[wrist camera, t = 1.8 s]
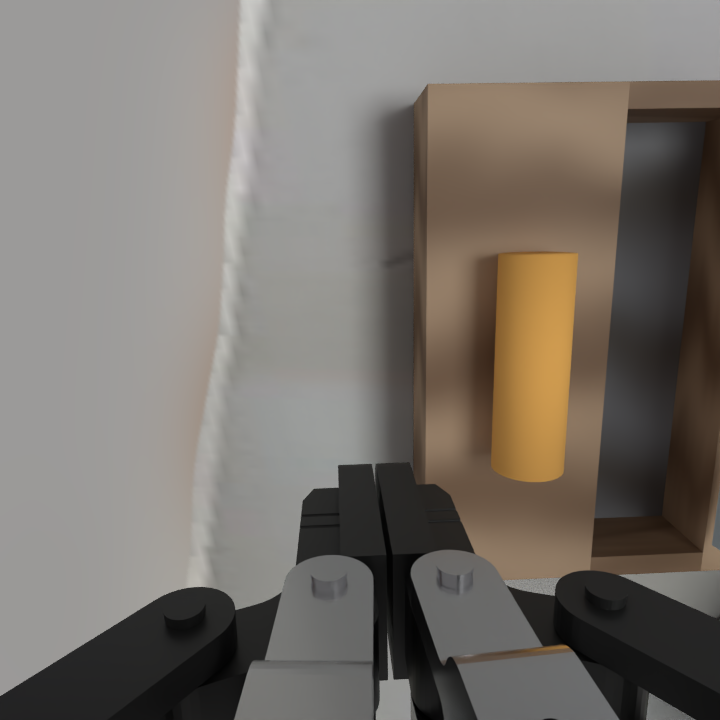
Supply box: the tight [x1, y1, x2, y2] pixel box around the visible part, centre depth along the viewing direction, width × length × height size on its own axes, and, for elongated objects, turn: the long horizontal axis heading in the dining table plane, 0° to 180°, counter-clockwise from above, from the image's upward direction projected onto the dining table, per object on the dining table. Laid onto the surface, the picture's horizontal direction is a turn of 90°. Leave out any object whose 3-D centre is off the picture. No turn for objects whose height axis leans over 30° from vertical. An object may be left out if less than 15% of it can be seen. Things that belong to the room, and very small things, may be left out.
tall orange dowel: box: [491, 252, 578, 482], centre depth 24 cm, size 9×3×3 cm, turn 1°
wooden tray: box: [413, 80, 720, 580], centre depth 27 cm, size 22×18×4 cm
